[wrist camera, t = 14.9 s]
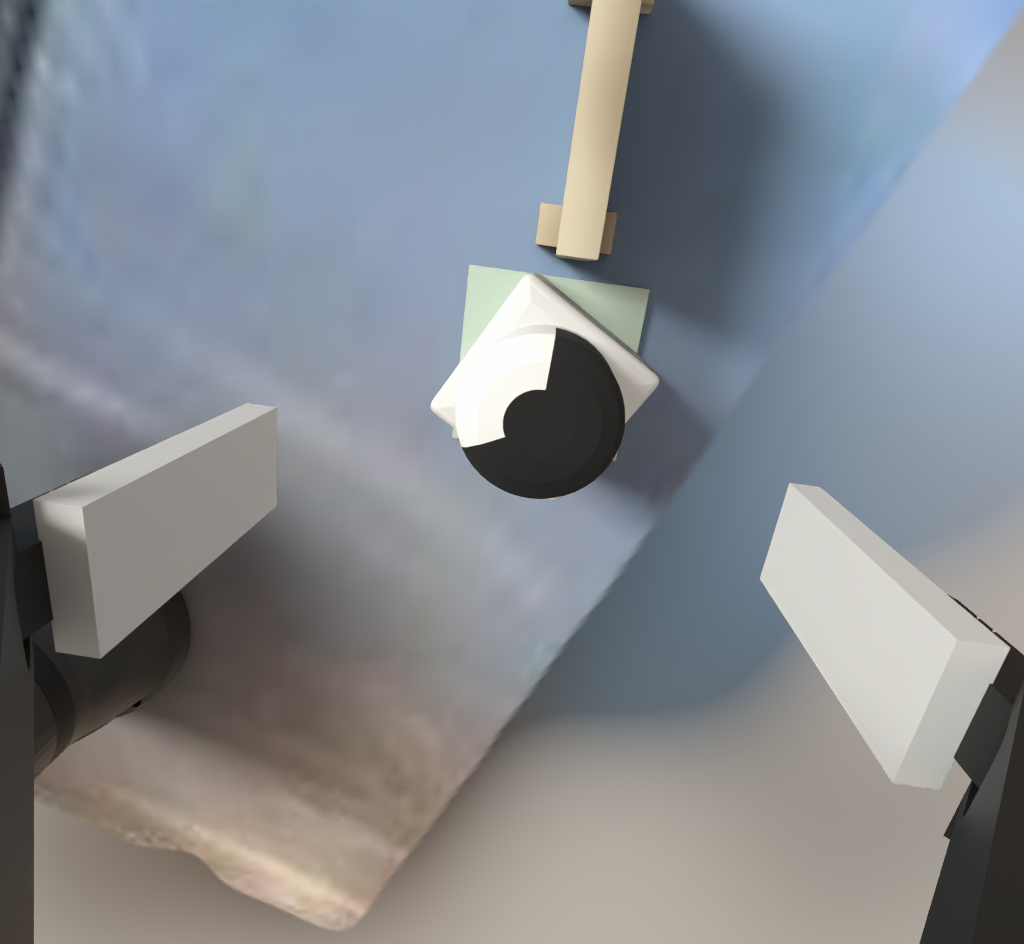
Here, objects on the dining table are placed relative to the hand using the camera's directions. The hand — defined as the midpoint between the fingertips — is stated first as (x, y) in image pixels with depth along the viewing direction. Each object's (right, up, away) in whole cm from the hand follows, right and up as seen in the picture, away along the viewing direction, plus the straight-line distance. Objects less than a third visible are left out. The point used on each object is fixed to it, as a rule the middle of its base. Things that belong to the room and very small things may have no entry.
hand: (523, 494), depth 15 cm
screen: (+4, +19, +15) cm, 24 cm away
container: (+2, +7, +19) cm, 21 cm away
